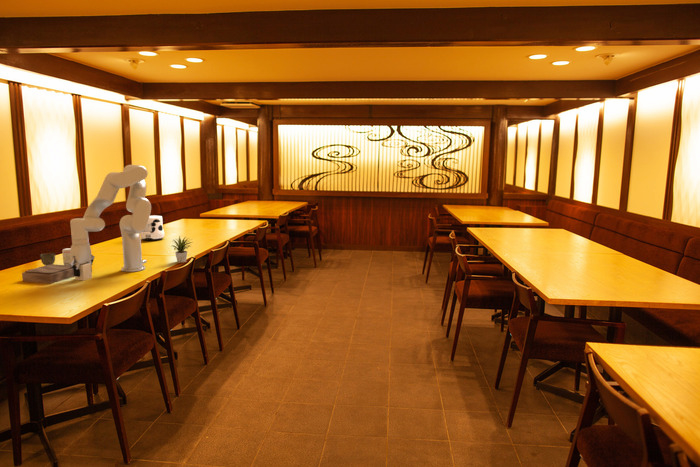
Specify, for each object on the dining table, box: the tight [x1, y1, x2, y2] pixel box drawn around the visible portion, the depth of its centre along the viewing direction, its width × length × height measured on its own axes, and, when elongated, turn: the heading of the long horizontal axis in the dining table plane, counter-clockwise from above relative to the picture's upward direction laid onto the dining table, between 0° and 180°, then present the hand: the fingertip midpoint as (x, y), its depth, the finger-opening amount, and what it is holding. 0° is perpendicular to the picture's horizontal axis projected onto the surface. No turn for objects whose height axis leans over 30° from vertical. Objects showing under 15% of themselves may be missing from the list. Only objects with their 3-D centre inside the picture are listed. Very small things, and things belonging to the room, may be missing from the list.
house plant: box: [171, 235, 194, 264], centre depth 281 cm, size 14×14×16 cm
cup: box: [39, 252, 56, 266], centre depth 265 cm, size 8×7×8 cm
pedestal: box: [21, 263, 75, 285], centre depth 242 cm, size 18×18×5 cm
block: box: [74, 263, 93, 281], centre depth 242 cm, size 6×6×8 cm
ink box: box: [61, 247, 71, 266], centre depth 262 cm, size 9×5×12 cm, turn 102°
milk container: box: [139, 215, 165, 241], centre depth 354 cm, size 17×17×18 cm
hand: (83, 274), depth 242 cm, fingers open, 7 cm apart
